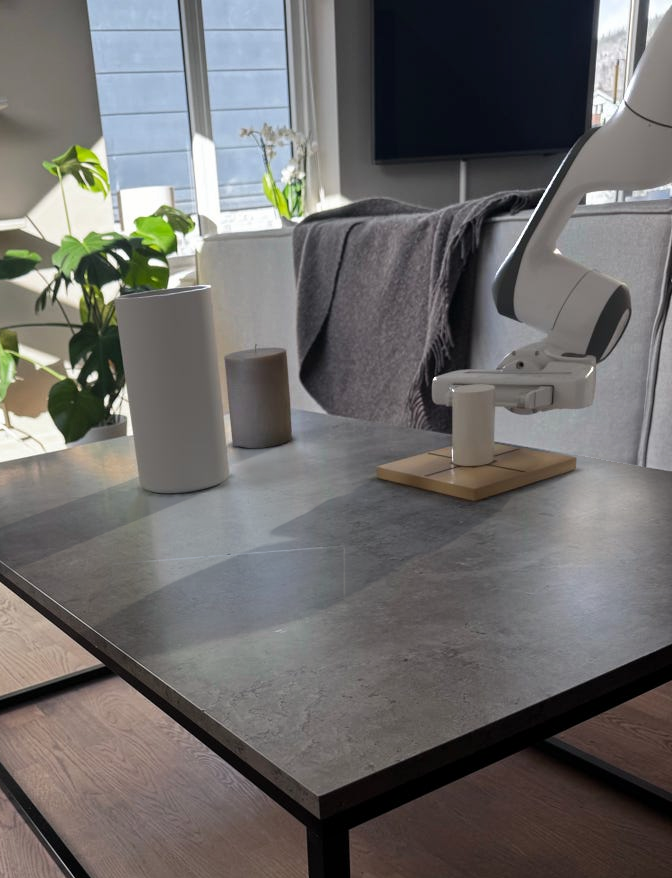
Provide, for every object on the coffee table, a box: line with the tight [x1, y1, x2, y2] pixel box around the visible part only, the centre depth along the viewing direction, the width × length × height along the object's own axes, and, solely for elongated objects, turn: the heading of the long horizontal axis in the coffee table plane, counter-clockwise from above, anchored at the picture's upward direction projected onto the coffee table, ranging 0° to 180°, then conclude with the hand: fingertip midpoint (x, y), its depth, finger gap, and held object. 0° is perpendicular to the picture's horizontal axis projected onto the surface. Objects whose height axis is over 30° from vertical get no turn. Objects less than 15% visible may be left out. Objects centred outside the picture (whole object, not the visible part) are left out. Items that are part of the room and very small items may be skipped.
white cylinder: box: [451, 384, 496, 466], centre depth 113 cm, size 5×5×9 cm
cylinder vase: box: [113, 285, 230, 494], centre depth 122 cm, size 12×12×25 cm
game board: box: [375, 443, 577, 502], centre depth 115 cm, size 17×17×2 cm
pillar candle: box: [223, 343, 293, 449], centre depth 142 cm, size 10×10×15 cm
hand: (485, 401), depth 114 cm, fingers open, 8 cm apart
